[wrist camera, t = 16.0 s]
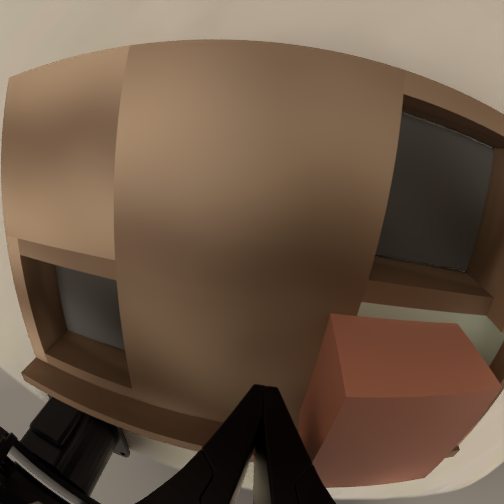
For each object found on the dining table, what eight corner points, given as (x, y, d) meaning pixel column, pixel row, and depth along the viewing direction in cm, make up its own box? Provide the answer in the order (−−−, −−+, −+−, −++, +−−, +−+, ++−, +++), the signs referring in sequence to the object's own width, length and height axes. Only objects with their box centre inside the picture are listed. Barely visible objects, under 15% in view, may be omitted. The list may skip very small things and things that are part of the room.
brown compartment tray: (434, 406, 13) (453, 456, 9) (61, 342, 14) (24, 380, 11) (530, 150, 8) (589, 161, 4) (44, 81, 9) (-16, 76, 6)
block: (406, 415, 10) (424, 477, 7) (298, 414, 10) (297, 486, 7) (457, 323, 8) (502, 387, 5) (330, 313, 9) (346, 396, 5)
